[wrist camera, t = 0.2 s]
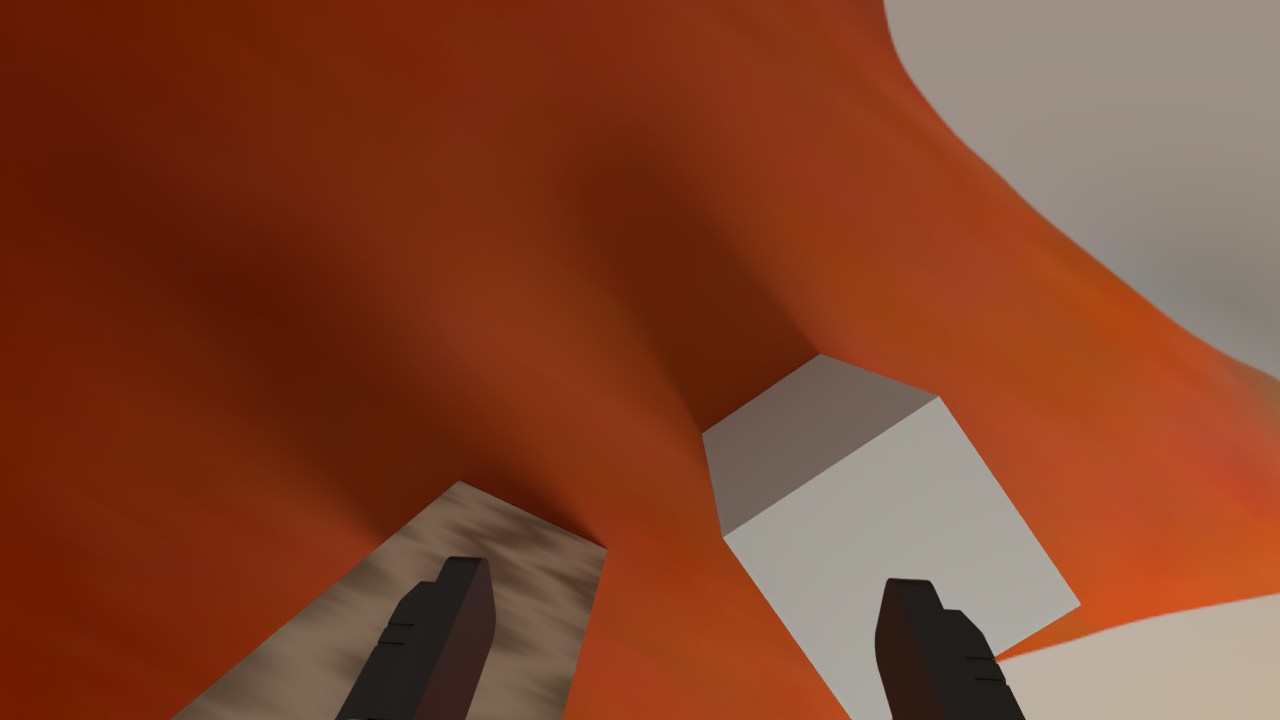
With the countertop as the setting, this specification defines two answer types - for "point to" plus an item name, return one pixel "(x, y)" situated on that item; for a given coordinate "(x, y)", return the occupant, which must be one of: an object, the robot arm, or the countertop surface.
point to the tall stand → (369, 593)
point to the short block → (871, 519)
